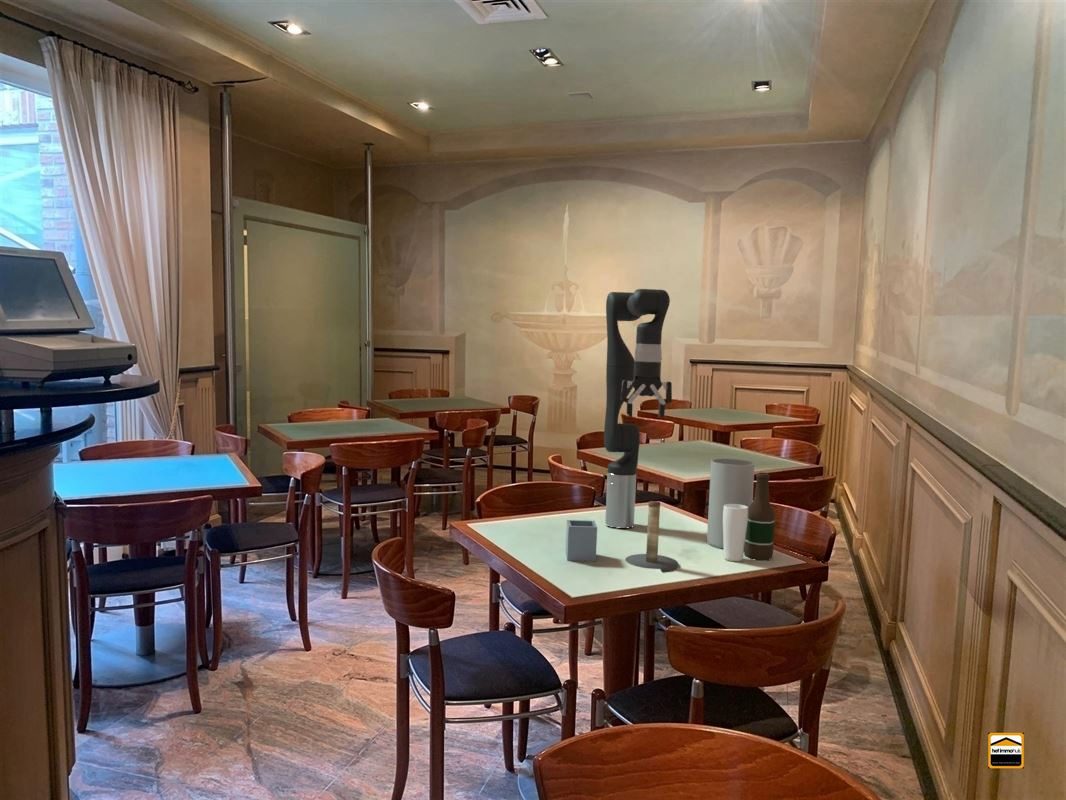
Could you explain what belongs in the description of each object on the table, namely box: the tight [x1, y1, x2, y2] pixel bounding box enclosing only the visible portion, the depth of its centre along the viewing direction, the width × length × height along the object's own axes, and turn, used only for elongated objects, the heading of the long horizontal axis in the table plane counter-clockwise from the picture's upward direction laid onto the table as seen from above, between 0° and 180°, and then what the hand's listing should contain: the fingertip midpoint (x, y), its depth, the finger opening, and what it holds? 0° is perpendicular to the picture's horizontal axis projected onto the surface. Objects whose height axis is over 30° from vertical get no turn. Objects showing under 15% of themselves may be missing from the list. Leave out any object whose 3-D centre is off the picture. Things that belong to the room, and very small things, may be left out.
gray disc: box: [625, 553, 679, 572], centre depth 209 cm, size 14×14×1 cm
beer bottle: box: [743, 472, 776, 561], centre depth 219 cm, size 8×8×24 cm
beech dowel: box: [645, 500, 661, 563], centre depth 209 cm, size 3×3×16 cm
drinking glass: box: [723, 504, 748, 562], centre depth 216 cm, size 7×7×15 cm
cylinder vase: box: [706, 458, 755, 550], centre depth 232 cm, size 12×12×25 cm
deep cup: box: [565, 519, 598, 562], centre depth 210 cm, size 8×8×10 cm
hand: (645, 417), depth 221 cm, fingers open, 8 cm apart
